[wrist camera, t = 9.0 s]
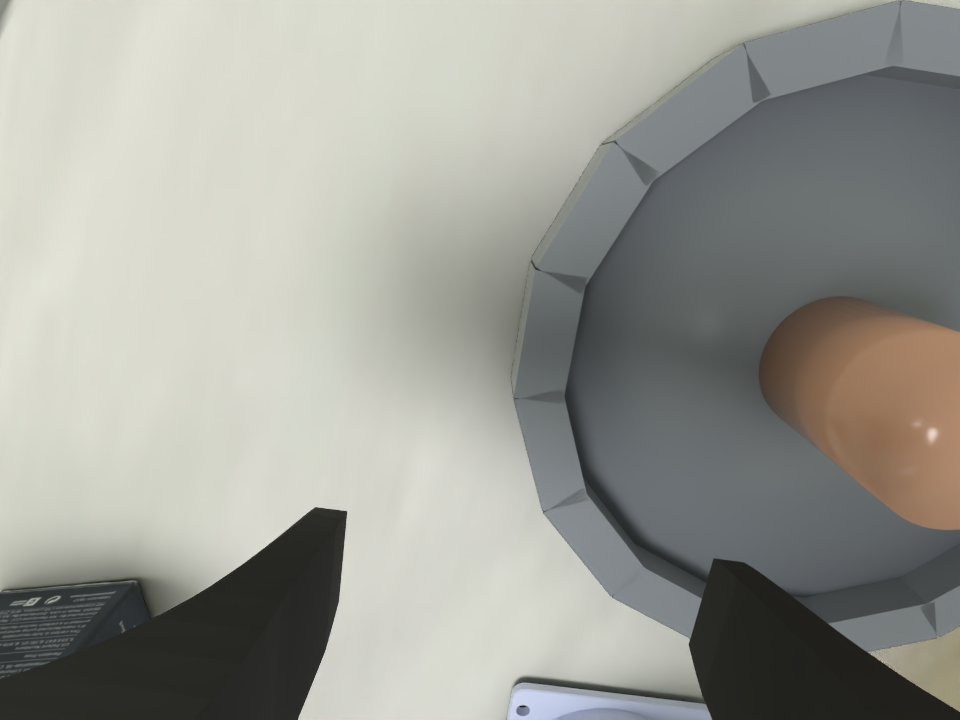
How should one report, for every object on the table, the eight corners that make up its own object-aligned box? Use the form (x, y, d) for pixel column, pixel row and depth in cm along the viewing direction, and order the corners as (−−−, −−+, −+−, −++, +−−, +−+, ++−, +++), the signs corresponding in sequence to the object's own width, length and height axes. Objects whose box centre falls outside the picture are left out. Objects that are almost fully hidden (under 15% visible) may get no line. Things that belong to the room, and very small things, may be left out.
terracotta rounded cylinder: (875, 439, 21) (1025, 540, 15) (742, 420, 21) (843, 517, 15) (921, 307, 19) (1105, 363, 14) (781, 286, 19) (907, 335, 14)
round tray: (997, 647, 24) (1042, 688, 22) (477, 582, 23) (476, 619, 21) (1255, 83, 18) (1346, 72, 16) (577, -27, 17) (589, -52, 16)
